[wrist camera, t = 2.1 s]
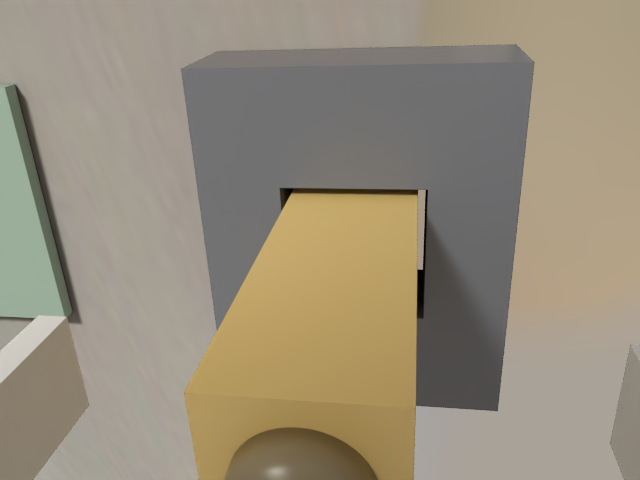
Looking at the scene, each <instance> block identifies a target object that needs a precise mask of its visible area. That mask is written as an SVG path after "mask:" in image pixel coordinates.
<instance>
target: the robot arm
mask: <svg viewBox="0 0 640 480" xmlns="http://www.w3.org/2000/svg"><path fill="white" fill-rule="evenodd" d="M88 406H89V402H88V398H87V394H86V390H85V386H84V382H83V378H82V374H81V370H80V366H79V363H78V359H77V355H76V351H75V347H74V343H73V339H72V335H71V331H70V327H69V323H68V319H67V317H62V316H42V315H39V316H38V317H36V318H35V319H34V320H33V321H32V322H31V323H30V324H29V325H28V326H27V327H26V328H25V329H23V330H22V331H21V332H20V333H19V334H18V335H17V336H16V337H15V338H14V339H13V340H12V341H11V342H9V343H8V344H7V345H6V346H5V347H4V348H3V349H2V350H1V351H0V480H33V479H34V478H35V477H36V475H37V474H38V473H39V471H40V470H41V469H42V467H43V466H44V465H45V463H46V462H47V461H48V459H49V458H50V457H51V455H52V454H53V453H54V451H55V450H56V449H57V447H58V446H59V445H60V443H61V442H62V441H63V439H64V438H65V437H66V435H67V434H68V433H69V431H70V430H71V429H72V427H73V426H74V425H75V423H76V422H77V421H78V419H79V418H80V417H81V415H82V414H83V413H84V411H85V410H86V409H87V407H88ZM610 444H611V447H612V450H613V452H614V455H615V457H616V460H617V462H618V465H619V467H620V470H621V472H622V475H623V478H624V480H640V345H630V349H629V354H628V359H627V363H626V368H625V373H624V378H623V383H622V388H621V392H620V397H619V402H618V407H617V412H616V417H615V422H614V426H613V431H612V436H611V441H610Z"/></svg>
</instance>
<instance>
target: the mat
mask: <svg viewBox="0 0 640 480" xmlns="http://www.w3.org/2000/svg"><path fill="white" fill-rule="evenodd" d="M71 313H72V308H71V304H70V300H69V296H68V292H67V288H66V284H65V280H64V277H63V273H62V269H61V265H60V261H59V257H58V253H57V249H56V245H55V241H54V237H53V233H52V229H51V225H50V221H49V218H48V214H47V210H46V206H45V202H44V198H43V194H42V190H41V186H40V182H39V178H38V174H37V170H36V166H35V162H34V159H33V155H32V151H31V147H30V143H29V139H28V135H27V131H26V127H25V123H24V119H23V115H22V111H21V107H20V103H19V100H18V96H17V92H16V88H15V84H0V316H4V317H24V318H36V317H38V316H39V315H42V316H62V317H68V316H69V315H70V314H71Z"/></svg>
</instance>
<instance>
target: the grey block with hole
mask: <svg viewBox="0 0 640 480" xmlns="http://www.w3.org/2000/svg"><path fill="white" fill-rule="evenodd" d="M533 71H534V61H533V60H532V59H531V58H530V57H529V56H528V55H527V54H526V53H525V52H523V51H522V50H521V49H520V48H519V47H518V46H517V45H516V44H515V45H473V46H472V45H471V46H429V47H387V48H345V49H303V50H261V51H220V52H215V53H213V54H211V55H209V56H207V57H205V58H202V59H200V60H198V61H196V62H194V63H192V64H190V65H188V66H186V67H184V68H182V69H181V72H182V79H183V86H184V94H185V101H186V108H187V116H188V123H189V130H190V137H191V145H192V152H193V159H194V167H195V174H196V181H197V189H198V196H199V203H200V210H201V218H202V225H203V232H204V240H205V247H206V254H207V261H208V269H209V276H210V283H211V291H212V298H213V305H214V313H215V320H216V327H217V330H218V329H219V327H220V325H221V323H222V321H223V319H224V318H225V316H226V314H227V312H228V310H229V308H230V306H231V305H232V303H233V301H234V299H235V297H236V295H237V293H238V292H239V290H240V288H241V286H242V284H243V282H244V280H245V279H246V277H247V275H248V273H249V271H250V269H251V267H252V266H253V264H254V262H255V260H256V258H257V256H258V254H259V253H260V251H261V249H262V247H263V245H264V243H265V241H266V240H267V238H268V236H269V234H270V232H271V230H272V228H273V227H274V225H275V223H276V221H277V219H278V217H279V215H280V214H281V212H282V210H283V208H284V206H285V204H286V202H287V201H288V199H289V197H290V195H291V193H292V191H293V189H294V188H328V189H411V190H426V198H425V228H424V257H423V258H424V260H423V270H417V335H416V406H430V407H445V408H446V407H447V408H460V409H476V410H490V411H498V402H499V393H500V383H501V374H502V365H503V355H504V346H505V336H506V327H507V318H508V308H509V299H510V288H511V279H512V270H513V259H514V250H515V241H516V232H517V223H518V213H519V203H520V194H521V185H522V184H521V183H522V175H523V165H524V156H525V147H526V137H527V127H528V118H529V108H530V99H531V89H532V80H533Z"/></svg>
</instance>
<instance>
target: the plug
mask: <svg viewBox="0 0 640 480" xmlns="http://www.w3.org/2000/svg"><path fill="white" fill-rule="evenodd" d="M417 229H418V190H411V189H328V188H294V189H293V191H292V193H291V195H290V197H289V199H288V201H287V202H286V204H285V206H284V208H283V210H282V212H281V214H280V215H279V217H278V219H277V221H276V223H275V225H274V227H273V228H272V230H271V232H270V234H269V236H268V238H267V240H266V241H265V243H264V245H263V247H262V249H261V251H260V253H259V254H258V256H257V258H256V260H255V262H254V264H253V266H252V267H251V269H250V271H249V273H248V275H247V277H246V279H245V280H244V282H243V284H242V286H241V288H240V290H239V292H238V293H237V295H236V297H235V299H234V301H233V303H232V305H231V306H230V308H229V310H228V312H227V314H226V316H225V318H224V319H223V321H222V323H221V325H220V327H219V329H218V330H217V332H216V334H215V336H214V338H213V340H212V342H211V343H210V345H209V347H208V349H207V351H206V353H205V355H204V356H203V358H202V360H201V362H200V364H199V366H198V368H197V369H196V371H195V373H194V375H193V377H192V379H191V381H190V382H189V384H188V386H187V388H186V390H185V392H184V396H185V401H186V407H187V413H188V419H189V424H190V430H191V436H192V442H193V447H194V453H195V459H196V465H197V470H198V476H199V480H414V447H415V416H416V415H415V414H416V335H417Z"/></svg>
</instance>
